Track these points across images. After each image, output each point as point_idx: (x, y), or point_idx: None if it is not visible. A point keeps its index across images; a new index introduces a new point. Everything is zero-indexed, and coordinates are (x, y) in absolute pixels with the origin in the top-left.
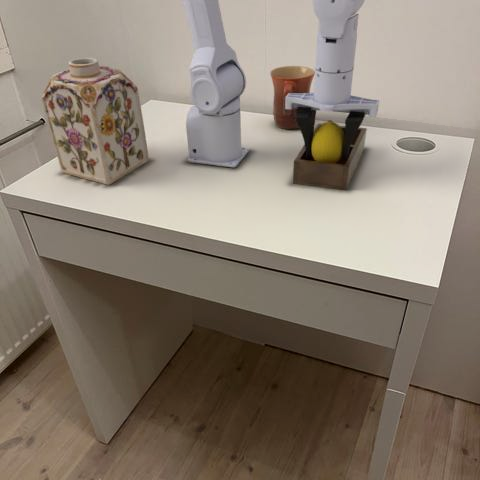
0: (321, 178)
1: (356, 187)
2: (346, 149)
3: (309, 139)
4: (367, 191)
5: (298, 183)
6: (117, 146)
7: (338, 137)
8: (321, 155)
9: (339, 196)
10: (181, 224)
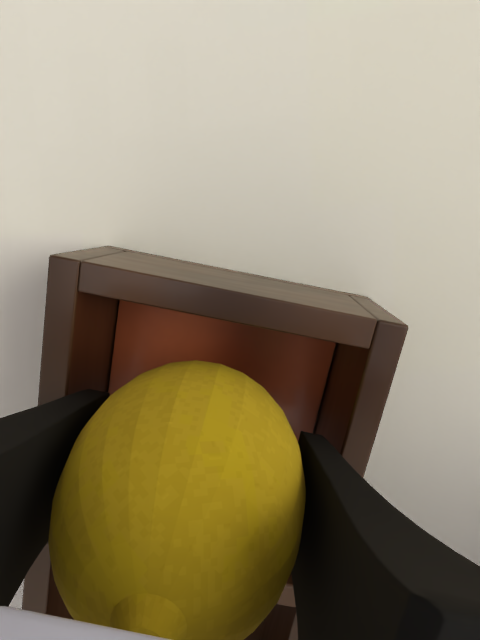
0: (226, 274)
1: None
2: (53, 404)
3: (327, 483)
4: (11, 245)
5: (341, 292)
6: None
7: (82, 457)
8: (228, 372)
9: (135, 179)
10: None
